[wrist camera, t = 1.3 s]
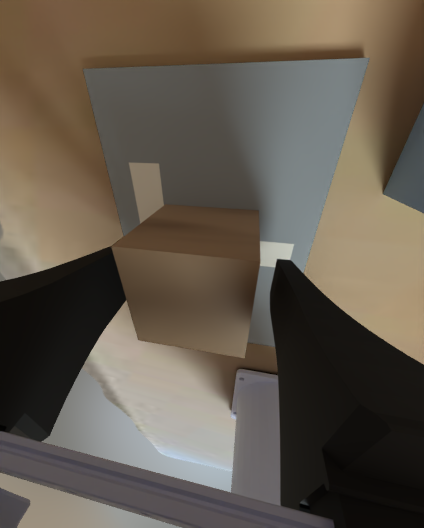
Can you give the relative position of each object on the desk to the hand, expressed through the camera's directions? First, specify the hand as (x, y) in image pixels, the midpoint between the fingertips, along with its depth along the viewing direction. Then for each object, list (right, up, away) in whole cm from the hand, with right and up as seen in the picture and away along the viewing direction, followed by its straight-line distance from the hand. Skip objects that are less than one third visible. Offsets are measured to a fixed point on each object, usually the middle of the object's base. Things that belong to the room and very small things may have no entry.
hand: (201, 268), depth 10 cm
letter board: (+1, +1, +2) cm, 3 cm away
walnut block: (0, +1, +2) cm, 2 cm away
